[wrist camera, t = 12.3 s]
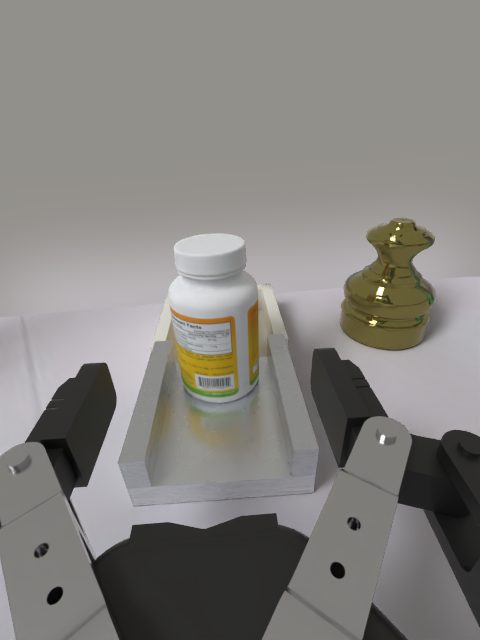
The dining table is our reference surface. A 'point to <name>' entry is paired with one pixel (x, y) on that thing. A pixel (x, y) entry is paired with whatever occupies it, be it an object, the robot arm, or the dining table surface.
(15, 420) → the dining table surface
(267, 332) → the tray
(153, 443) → the rail
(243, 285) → the supplement bottle
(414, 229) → the gold metal knob shape
